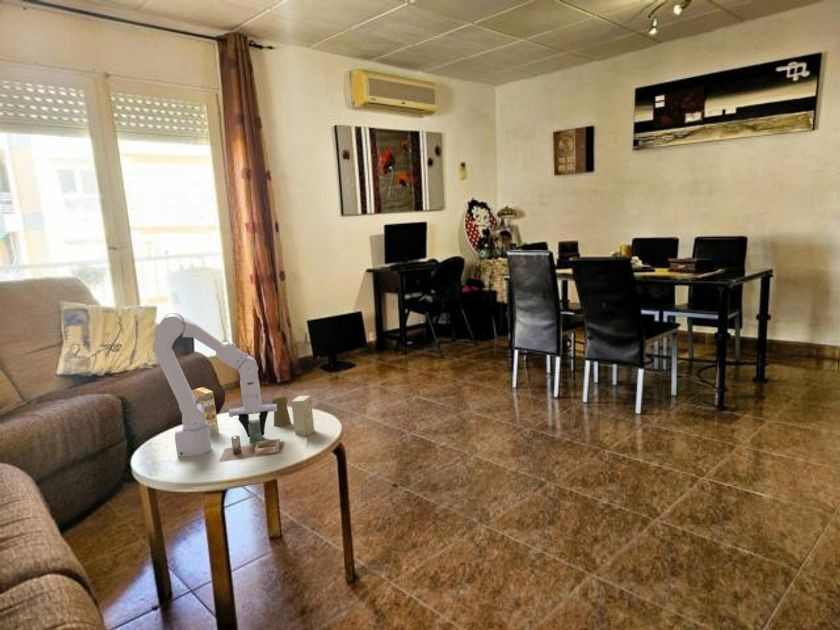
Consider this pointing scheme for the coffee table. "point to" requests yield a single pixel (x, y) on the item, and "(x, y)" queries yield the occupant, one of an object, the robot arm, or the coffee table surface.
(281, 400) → the cork
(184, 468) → the coffee table surface
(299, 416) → the skincare box
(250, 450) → the brown board
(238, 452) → the brushed metal cylinder
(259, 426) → the peg
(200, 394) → the candy box
